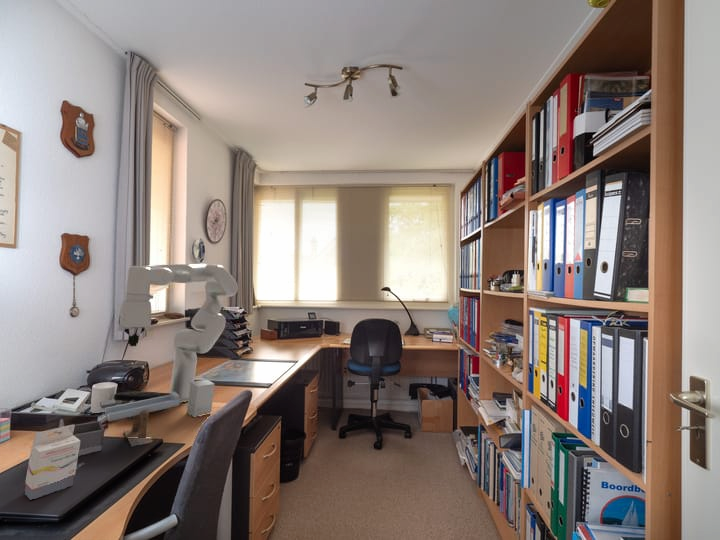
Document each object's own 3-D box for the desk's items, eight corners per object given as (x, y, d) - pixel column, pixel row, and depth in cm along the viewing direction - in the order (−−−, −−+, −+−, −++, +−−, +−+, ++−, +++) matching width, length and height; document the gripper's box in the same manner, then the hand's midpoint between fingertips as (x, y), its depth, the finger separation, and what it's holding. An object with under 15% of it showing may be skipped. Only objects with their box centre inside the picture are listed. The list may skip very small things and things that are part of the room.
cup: (97, 440, 109) (101, 413, 109) (101, 451, 103) (105, 421, 104) (55, 449, 102) (60, 419, 102) (57, 461, 96) (62, 429, 96)
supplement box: (211, 414, 138) (215, 383, 139) (193, 418, 133) (197, 386, 134) (204, 408, 143) (208, 379, 144) (186, 412, 138) (190, 381, 139)
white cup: (99, 416, 126) (103, 389, 127) (83, 412, 128) (87, 386, 128) (118, 409, 134) (122, 384, 134) (102, 405, 136) (106, 381, 136)
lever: (166, 393, 130) (167, 384, 130) (179, 406, 119) (180, 396, 119) (99, 407, 115) (100, 396, 115) (107, 422, 104) (107, 411, 104)
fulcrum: (143, 429, 120) (147, 400, 120) (152, 442, 111) (156, 411, 112) (123, 433, 116) (128, 402, 116) (131, 447, 107) (136, 414, 108)
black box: (177, 393, 146) (156, 396, 127) (172, 415, 144) (149, 422, 125) (135, 390, 145) (108, 393, 126) (130, 412, 142) (100, 418, 123)
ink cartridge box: (29, 502, 79) (39, 439, 80) (22, 494, 81) (32, 433, 82) (74, 486, 86) (83, 428, 87) (66, 478, 89) (75, 422, 89)
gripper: (156, 297, 136) (152, 341, 135) (111, 296, 125) (106, 345, 125) (162, 299, 130) (157, 345, 130) (116, 299, 120) (111, 349, 119)
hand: (132, 345), depth 127 cm, fingers closed
